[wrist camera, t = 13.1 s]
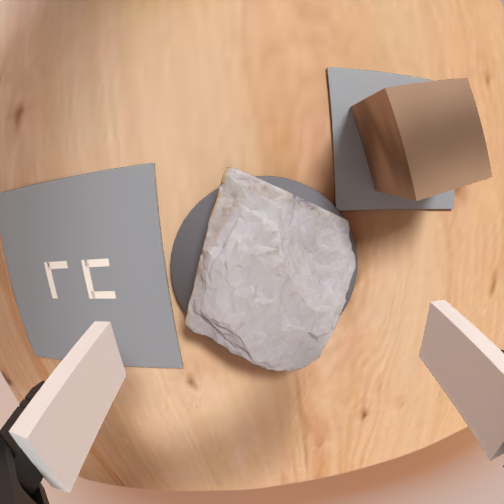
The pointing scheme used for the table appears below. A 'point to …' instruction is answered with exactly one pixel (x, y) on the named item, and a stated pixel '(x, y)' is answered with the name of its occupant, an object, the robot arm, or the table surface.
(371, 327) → the table surface
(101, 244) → the tile
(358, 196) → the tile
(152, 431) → the table surface
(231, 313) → the stone
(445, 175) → the walnut block
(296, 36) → the table surface
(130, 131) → the table surface
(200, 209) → the coaster
